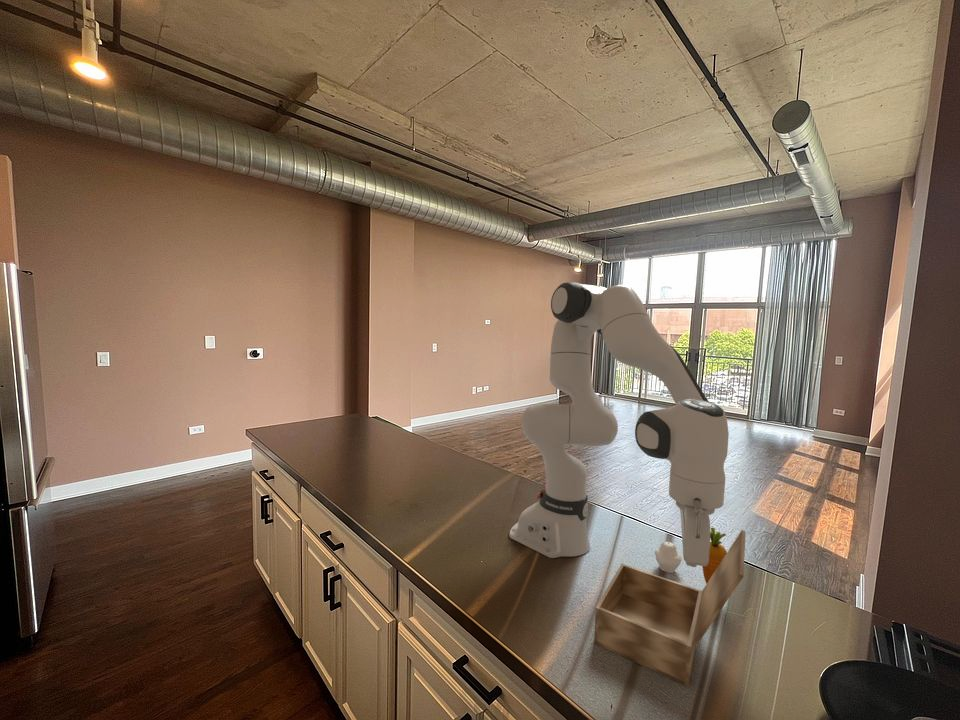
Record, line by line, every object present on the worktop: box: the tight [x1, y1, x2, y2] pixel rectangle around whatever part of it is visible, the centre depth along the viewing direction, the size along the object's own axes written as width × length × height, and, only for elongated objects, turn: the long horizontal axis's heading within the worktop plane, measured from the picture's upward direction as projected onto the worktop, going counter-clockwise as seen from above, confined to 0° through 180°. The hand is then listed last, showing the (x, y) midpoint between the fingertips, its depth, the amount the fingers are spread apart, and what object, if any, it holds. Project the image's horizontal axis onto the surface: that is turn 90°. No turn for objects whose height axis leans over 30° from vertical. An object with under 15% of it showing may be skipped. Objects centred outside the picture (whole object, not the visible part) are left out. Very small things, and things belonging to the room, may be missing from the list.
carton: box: [593, 563, 703, 688], centre depth 78 cm, size 16×18×7 cm
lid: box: [692, 529, 746, 648], centre depth 71 cm, size 16×18×1 cm
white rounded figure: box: [654, 541, 683, 574], centre depth 100 cm, size 6×6×7 cm
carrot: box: [701, 527, 728, 585], centre depth 91 cm, size 5×5×15 cm
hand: (690, 562), depth 74 cm, fingers closed
